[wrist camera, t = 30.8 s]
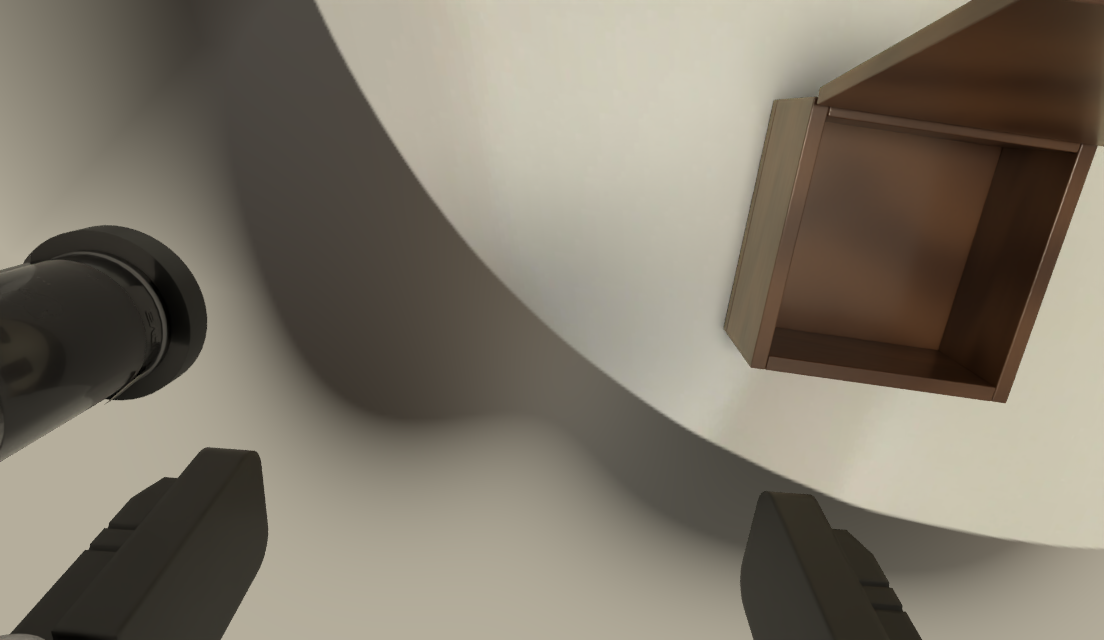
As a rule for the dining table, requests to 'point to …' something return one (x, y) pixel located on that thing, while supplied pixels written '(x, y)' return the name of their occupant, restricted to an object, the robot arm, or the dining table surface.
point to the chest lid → (992, 71)
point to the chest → (900, 249)
